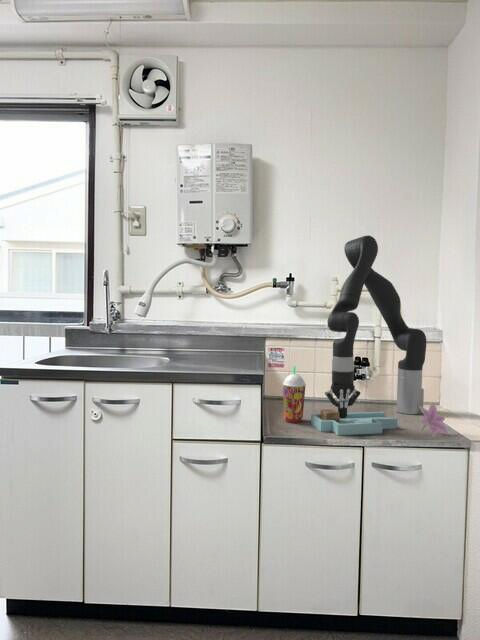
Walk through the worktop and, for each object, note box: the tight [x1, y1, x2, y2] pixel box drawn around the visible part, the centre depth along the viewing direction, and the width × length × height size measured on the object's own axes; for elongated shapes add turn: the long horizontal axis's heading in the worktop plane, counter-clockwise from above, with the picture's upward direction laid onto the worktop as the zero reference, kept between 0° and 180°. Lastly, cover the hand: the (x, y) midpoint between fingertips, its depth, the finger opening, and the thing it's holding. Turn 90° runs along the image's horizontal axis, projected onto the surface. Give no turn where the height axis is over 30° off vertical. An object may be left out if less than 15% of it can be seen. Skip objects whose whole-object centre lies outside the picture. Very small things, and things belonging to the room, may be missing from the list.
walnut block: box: [319, 408, 339, 423], centre depth 183 cm, size 5×5×4 cm
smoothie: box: [282, 365, 307, 424], centre depth 190 cm, size 8×8×20 cm
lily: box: [419, 401, 450, 438], centre depth 178 cm, size 12×12×10 cm
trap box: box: [310, 411, 398, 436], centre depth 182 cm, size 28×15×4 cm, turn 102°
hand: (342, 417), depth 184 cm, fingers closed
